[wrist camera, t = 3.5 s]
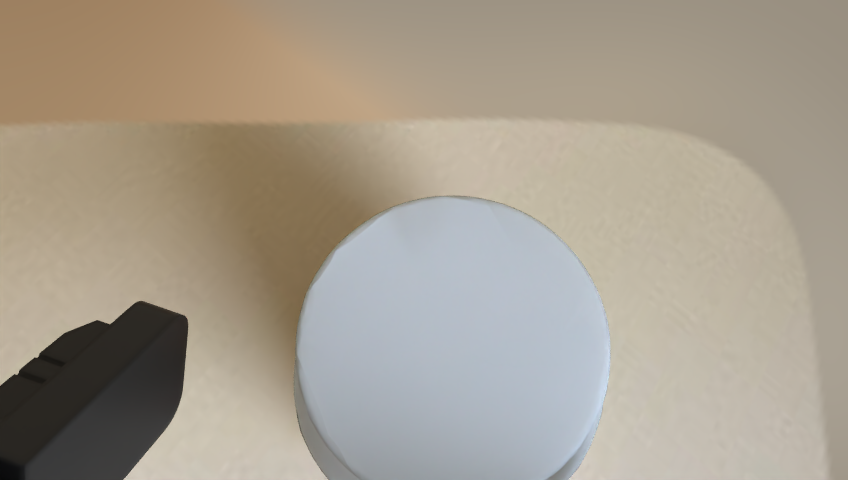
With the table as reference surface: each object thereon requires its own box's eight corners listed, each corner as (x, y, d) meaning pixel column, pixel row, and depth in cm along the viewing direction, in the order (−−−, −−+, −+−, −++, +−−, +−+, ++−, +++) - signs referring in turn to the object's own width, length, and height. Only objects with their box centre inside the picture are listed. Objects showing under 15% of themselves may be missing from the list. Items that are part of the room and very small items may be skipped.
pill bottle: (318, 333, 22) (220, 210, 12) (519, 279, 22) (575, 119, 13) (368, 549, 20) (298, 600, 11) (584, 487, 20) (707, 483, 11)
